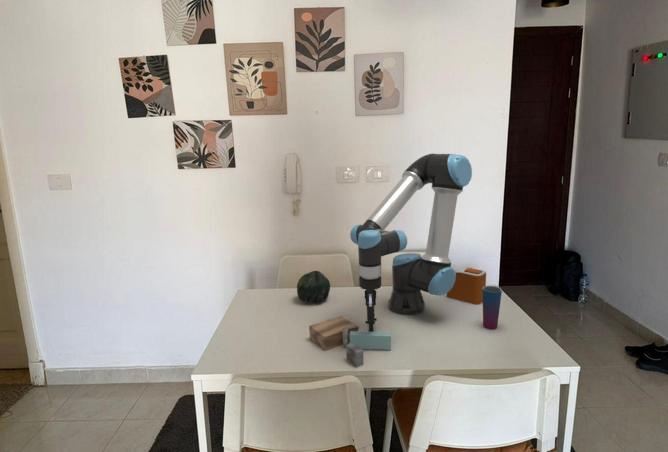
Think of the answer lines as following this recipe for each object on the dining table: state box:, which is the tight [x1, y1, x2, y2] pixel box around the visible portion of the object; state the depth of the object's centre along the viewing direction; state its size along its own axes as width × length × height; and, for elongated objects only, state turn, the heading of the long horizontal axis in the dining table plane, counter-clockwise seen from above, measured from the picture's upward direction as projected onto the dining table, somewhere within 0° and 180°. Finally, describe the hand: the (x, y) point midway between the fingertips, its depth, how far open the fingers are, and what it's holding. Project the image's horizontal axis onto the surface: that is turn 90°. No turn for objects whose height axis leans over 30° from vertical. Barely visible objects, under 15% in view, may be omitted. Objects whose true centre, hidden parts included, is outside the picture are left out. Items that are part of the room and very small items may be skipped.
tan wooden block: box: [308, 315, 364, 368], centre depth 150 cm, size 26×14×7 cm, turn 33°
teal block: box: [349, 330, 392, 351], centre depth 149 cm, size 14×3×5 cm, turn 83°
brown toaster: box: [446, 267, 487, 305], centre depth 189 cm, size 15×8×14 cm, turn 47°
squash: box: [296, 270, 331, 304], centre depth 192 cm, size 14×15×15 cm
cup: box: [482, 285, 503, 330], centre depth 161 cm, size 7×7×15 cm
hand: (371, 339), depth 152 cm, fingers closed
